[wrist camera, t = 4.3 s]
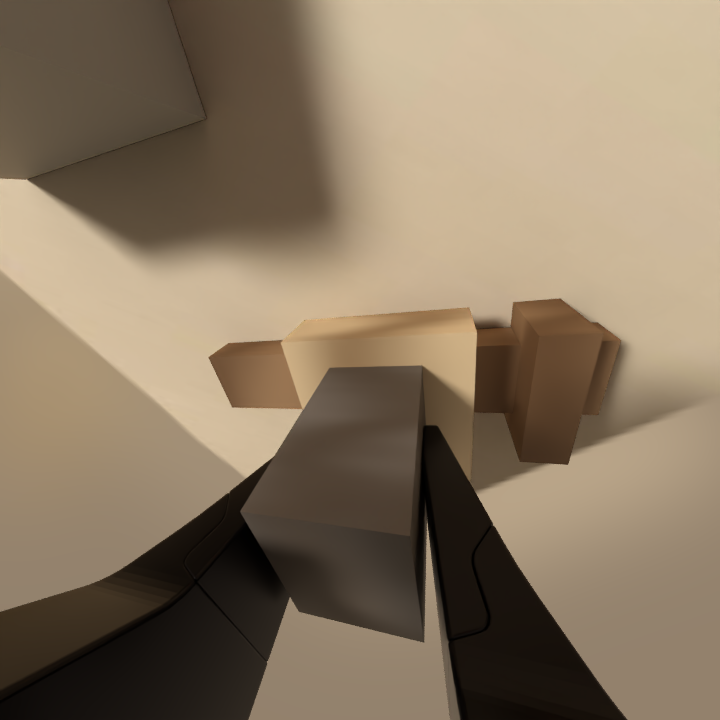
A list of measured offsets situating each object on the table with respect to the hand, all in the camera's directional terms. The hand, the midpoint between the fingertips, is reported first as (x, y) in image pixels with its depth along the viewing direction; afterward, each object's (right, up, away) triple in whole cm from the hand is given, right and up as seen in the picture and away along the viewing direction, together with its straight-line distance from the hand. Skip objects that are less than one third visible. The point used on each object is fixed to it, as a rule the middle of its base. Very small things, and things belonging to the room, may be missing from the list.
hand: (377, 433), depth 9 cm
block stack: (+1, +1, +2) cm, 3 cm away
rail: (+1, +2, +4) cm, 5 cm away
